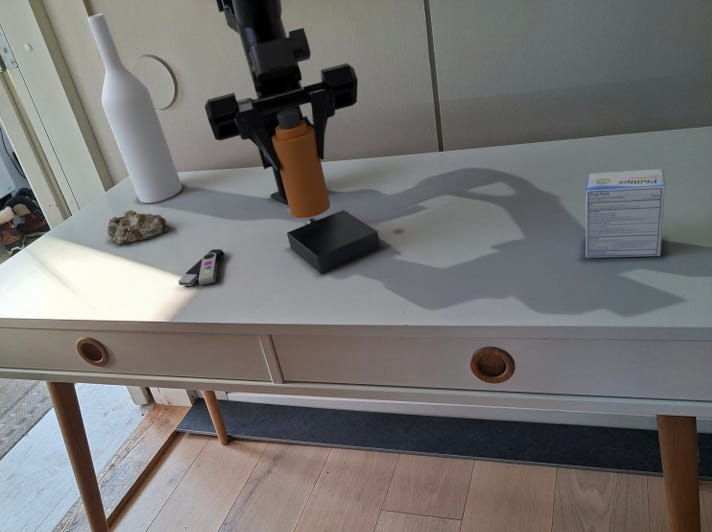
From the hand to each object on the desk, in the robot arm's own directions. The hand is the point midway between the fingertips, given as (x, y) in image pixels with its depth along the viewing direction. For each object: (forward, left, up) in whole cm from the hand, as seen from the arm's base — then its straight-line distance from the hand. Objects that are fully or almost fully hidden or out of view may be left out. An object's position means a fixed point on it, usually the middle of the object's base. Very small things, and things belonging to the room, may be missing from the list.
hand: (300, 163), depth 86 cm
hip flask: (-1, +3, -13) cm, 14 cm away
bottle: (-48, -2, -14) cm, 50 cm away
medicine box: (+30, +22, -14) cm, 39 cm away
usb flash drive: (-12, -11, -13) cm, 21 cm away
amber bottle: (-1, +1, -7) cm, 7 cm away
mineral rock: (-35, -12, -14) cm, 40 cm away
